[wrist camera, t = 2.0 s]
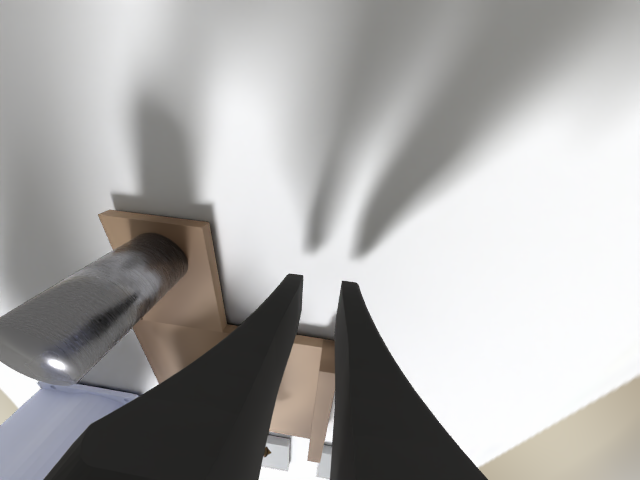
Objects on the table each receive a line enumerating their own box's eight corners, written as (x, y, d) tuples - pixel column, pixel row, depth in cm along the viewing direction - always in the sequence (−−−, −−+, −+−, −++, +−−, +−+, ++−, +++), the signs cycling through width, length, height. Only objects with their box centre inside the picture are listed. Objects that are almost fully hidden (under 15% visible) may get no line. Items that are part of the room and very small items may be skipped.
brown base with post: (178, 406, 21) (120, 506, 16) (90, 207, 11) (-132, 291, 6) (322, 432, 20) (312, 546, 15) (358, 240, 10) (365, 369, 5)
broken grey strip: (230, 452, 25) (227, 460, 25) (222, 426, 22) (219, 434, 22) (379, 480, 24) (379, 488, 24) (392, 457, 21) (393, 466, 21)
